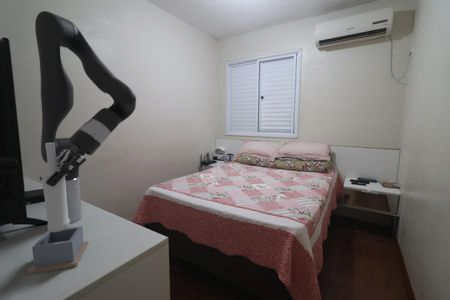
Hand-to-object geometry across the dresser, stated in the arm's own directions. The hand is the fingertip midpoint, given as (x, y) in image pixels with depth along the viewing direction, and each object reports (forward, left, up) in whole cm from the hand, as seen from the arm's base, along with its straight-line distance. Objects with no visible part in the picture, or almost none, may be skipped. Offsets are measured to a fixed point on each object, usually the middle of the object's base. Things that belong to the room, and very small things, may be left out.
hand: (46, 182), depth 58 cm
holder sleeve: (-1, +1, -24) cm, 24 cm away
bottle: (-1, +2, -14) cm, 15 cm away
